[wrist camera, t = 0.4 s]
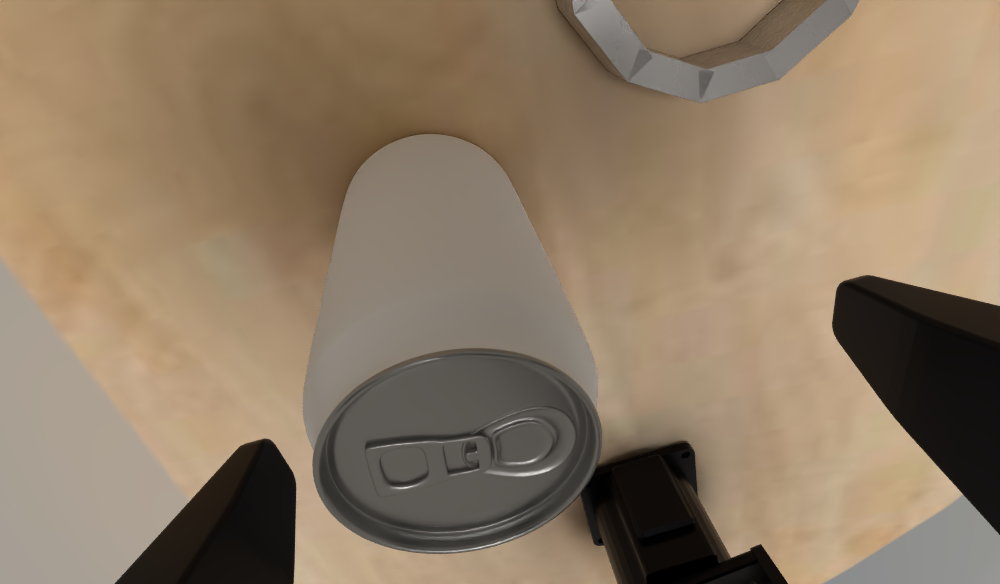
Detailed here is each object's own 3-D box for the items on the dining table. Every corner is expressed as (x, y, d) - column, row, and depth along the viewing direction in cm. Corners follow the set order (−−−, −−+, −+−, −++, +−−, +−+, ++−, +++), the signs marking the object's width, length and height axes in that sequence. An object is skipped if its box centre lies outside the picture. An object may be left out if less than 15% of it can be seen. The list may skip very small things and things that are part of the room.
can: (520, 276, 23) (617, 535, 13) (363, 299, 22) (334, 590, 12) (510, 118, 19) (632, 304, 9) (324, 141, 19) (235, 365, 9)
